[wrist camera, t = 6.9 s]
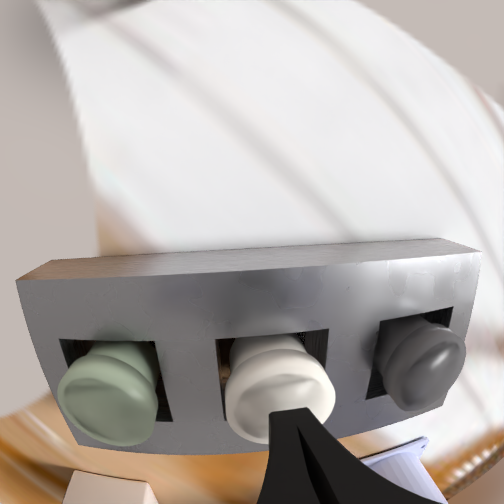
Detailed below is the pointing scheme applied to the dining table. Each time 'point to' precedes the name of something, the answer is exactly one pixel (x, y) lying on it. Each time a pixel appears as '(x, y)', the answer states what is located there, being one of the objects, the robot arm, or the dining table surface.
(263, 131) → the dining table surface
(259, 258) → the key console
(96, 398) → the sage key
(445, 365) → the grey rounded knob
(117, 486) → the medicine bottle
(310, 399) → the ivory key
